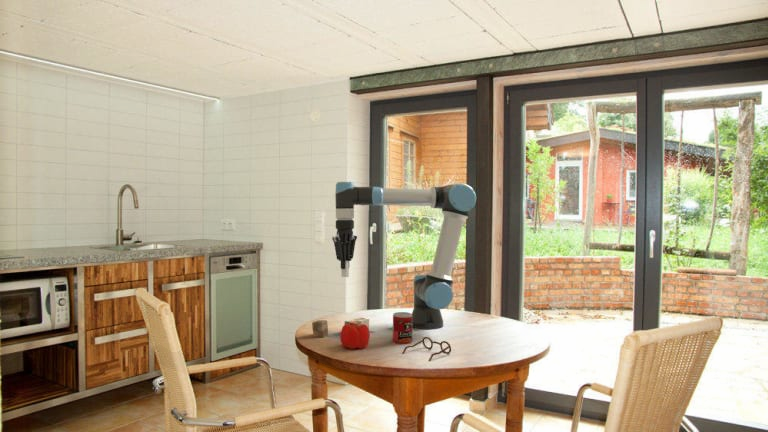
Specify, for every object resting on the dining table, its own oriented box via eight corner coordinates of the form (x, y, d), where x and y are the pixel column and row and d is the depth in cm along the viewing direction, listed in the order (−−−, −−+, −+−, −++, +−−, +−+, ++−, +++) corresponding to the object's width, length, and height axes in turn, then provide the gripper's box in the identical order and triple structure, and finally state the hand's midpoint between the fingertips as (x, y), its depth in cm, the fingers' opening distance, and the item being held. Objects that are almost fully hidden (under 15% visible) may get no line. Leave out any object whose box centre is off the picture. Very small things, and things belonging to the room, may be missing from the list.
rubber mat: (375, 332, 219) (375, 331, 219) (344, 341, 204) (344, 340, 204) (355, 328, 226) (355, 327, 226) (324, 336, 211) (324, 335, 211)
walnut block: (328, 334, 212) (327, 320, 213) (323, 337, 208) (321, 322, 208) (318, 334, 214) (317, 320, 214) (313, 337, 210) (312, 322, 210)
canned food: (398, 345, 199) (399, 316, 199) (389, 340, 206) (389, 312, 206) (415, 342, 203) (416, 315, 203) (405, 338, 210) (406, 311, 210)
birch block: (353, 335, 213) (369, 330, 220) (353, 323, 212) (369, 319, 220) (344, 333, 216) (360, 328, 223) (344, 321, 216) (360, 317, 223)
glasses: (451, 355, 188) (451, 341, 188) (429, 363, 178) (429, 348, 178) (423, 348, 197) (424, 335, 197) (400, 355, 187) (401, 341, 187)
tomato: (333, 348, 194) (334, 324, 194) (355, 342, 203) (356, 319, 203) (354, 353, 187) (354, 329, 187) (376, 347, 196) (376, 323, 196)
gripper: (348, 219, 220) (348, 274, 220) (327, 219, 209) (327, 277, 210) (362, 219, 215) (362, 275, 215) (340, 219, 205) (341, 279, 205)
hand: (345, 276), depth 212 cm, fingers closed
